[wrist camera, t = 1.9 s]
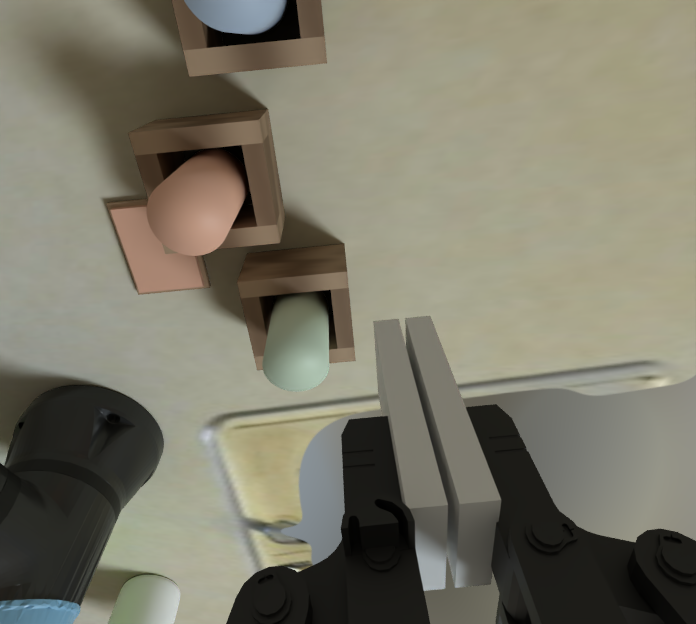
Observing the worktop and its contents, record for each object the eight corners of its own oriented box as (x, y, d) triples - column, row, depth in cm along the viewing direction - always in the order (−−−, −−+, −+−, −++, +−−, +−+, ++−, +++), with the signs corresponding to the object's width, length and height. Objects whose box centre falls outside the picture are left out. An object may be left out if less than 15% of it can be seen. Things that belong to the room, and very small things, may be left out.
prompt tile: (140, 292, 44) (136, 297, 44) (108, 202, 40) (103, 205, 39) (210, 285, 44) (208, 290, 44) (186, 194, 40) (183, 198, 39)
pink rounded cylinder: (193, 214, 38) (159, 259, 30) (177, 151, 35) (135, 182, 28) (254, 208, 38) (236, 251, 30) (242, 144, 35) (219, 174, 28)
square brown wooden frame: (264, 334, 47) (257, 370, 42) (247, 253, 43) (236, 282, 38) (352, 325, 47) (355, 360, 42) (344, 243, 43) (347, 271, 38)
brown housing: (185, 227, 41) (165, 254, 36) (155, 120, 37) (128, 132, 32) (285, 217, 41) (279, 242, 36) (268, 109, 37) (258, 119, 32)
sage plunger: (278, 331, 44) (268, 394, 36) (269, 285, 41) (256, 341, 34) (330, 326, 44) (332, 388, 36) (325, 279, 41) (325, 334, 34)
